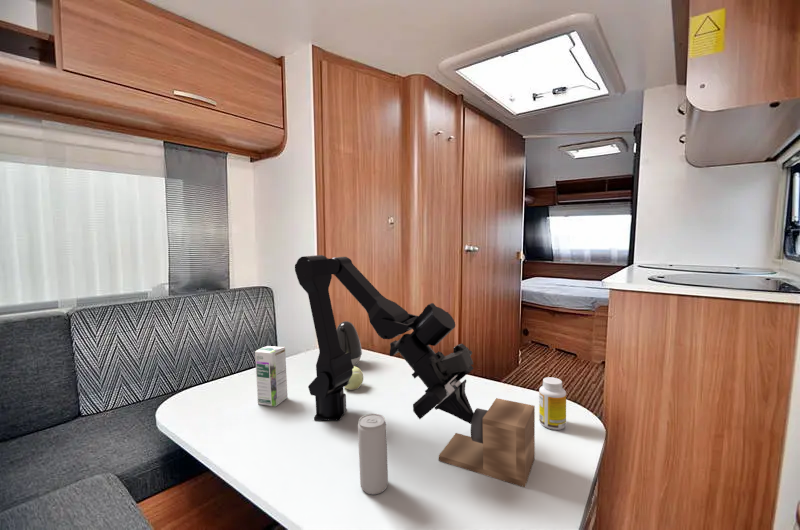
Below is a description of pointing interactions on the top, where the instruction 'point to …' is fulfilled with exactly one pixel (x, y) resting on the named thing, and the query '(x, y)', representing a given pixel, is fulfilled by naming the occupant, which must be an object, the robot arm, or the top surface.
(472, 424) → the knob
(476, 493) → the top surface
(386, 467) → the beverage can
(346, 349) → the dark grey ovoid
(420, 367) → the robot arm
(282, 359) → the syrup box
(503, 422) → the mount
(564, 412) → the supplement bottle
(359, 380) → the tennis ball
